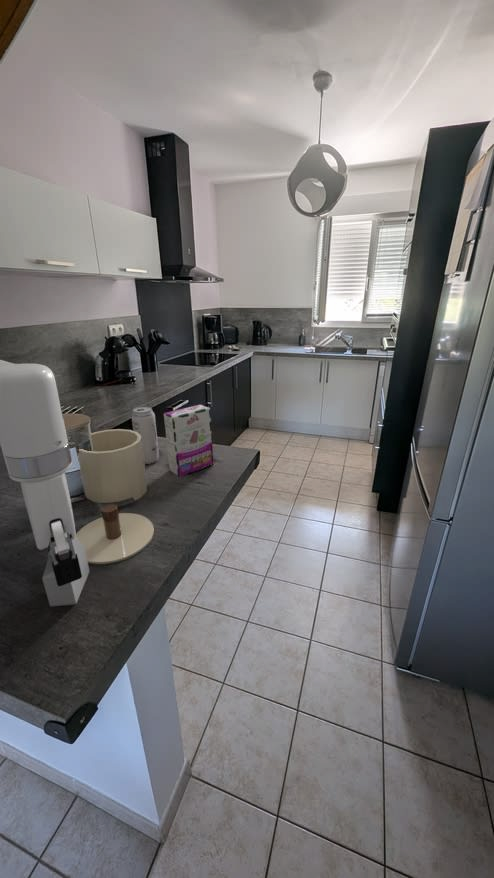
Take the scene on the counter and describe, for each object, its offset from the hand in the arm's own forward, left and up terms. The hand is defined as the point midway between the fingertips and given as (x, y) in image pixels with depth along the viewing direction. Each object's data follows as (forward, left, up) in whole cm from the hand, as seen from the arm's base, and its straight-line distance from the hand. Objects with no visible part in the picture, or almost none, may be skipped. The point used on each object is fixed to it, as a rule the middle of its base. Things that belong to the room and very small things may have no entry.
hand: (65, 563), depth 54 cm
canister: (+14, +26, -5) cm, 30 cm away
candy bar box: (+34, +28, -6) cm, 44 cm away
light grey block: (0, 0, -6) cm, 6 cm away
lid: (+9, +9, -5) cm, 14 cm away
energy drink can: (+26, +39, -6) cm, 47 cm away
